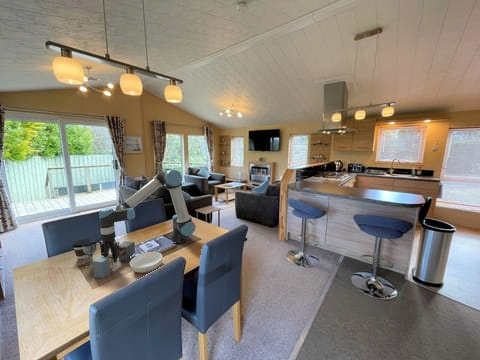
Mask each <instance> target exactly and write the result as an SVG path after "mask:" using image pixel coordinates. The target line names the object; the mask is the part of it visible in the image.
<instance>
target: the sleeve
mask: <svg viewBox="0 0 480 360" xmlns="http://www.w3.org/2000/svg"><path fill="white" fill-rule="evenodd" d="M135 246H136V245H135V241H130V240H126V241H124V242H122V243H121V244H120V243H119V251H120V250H122V249H123V248H125V254H124V255H122V256H121V257H119V258H118V261H121V262H123V261H124V262H128V261H131V259H130V256H132V255H133V254H134V253H135V254H136V247H135Z"/></svg>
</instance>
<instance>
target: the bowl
mask: <svg viewBox="0 0 480 360" xmlns="http://www.w3.org/2000/svg"><path fill="white" fill-rule="evenodd" d="M162 262H163V255H162V253H160V252H158V251H147V252H142V253H140V254H138V255H135V256H134V257H133V258H131V259H130V260H129V267H130V268H131V270H132V271H133V272H136V273H138V274H146V273H150V272H152V271H154V270H156V269H157V268H158V267H160V265H161V264H162Z"/></svg>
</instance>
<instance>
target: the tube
mask: <svg viewBox="0 0 480 360" xmlns="http://www.w3.org/2000/svg"><path fill="white" fill-rule="evenodd" d="M119 254H120V255H119V256H118V257H117V260H119V257H121V256H122V255H124V254H125V248H123V249H122V250H120V251H119ZM109 256H110V255H109ZM108 258H109V262H110V263H111V264H112V258H113V257H112V255H111V256H110V257H108Z"/></svg>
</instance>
